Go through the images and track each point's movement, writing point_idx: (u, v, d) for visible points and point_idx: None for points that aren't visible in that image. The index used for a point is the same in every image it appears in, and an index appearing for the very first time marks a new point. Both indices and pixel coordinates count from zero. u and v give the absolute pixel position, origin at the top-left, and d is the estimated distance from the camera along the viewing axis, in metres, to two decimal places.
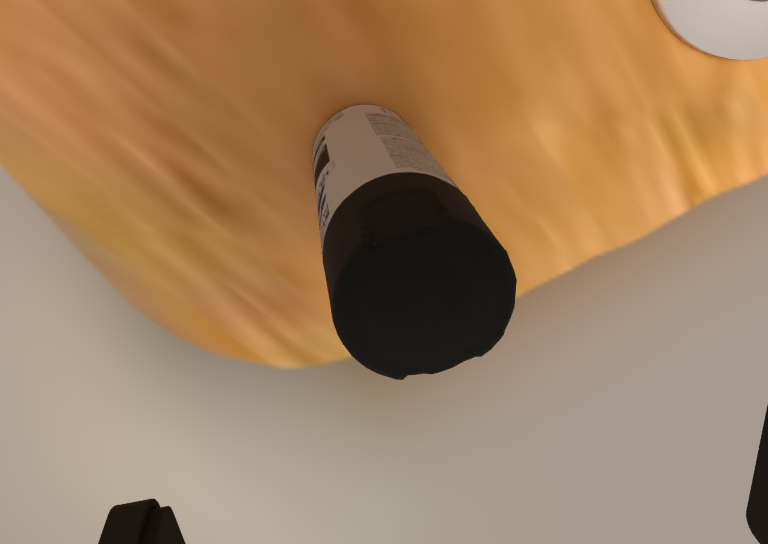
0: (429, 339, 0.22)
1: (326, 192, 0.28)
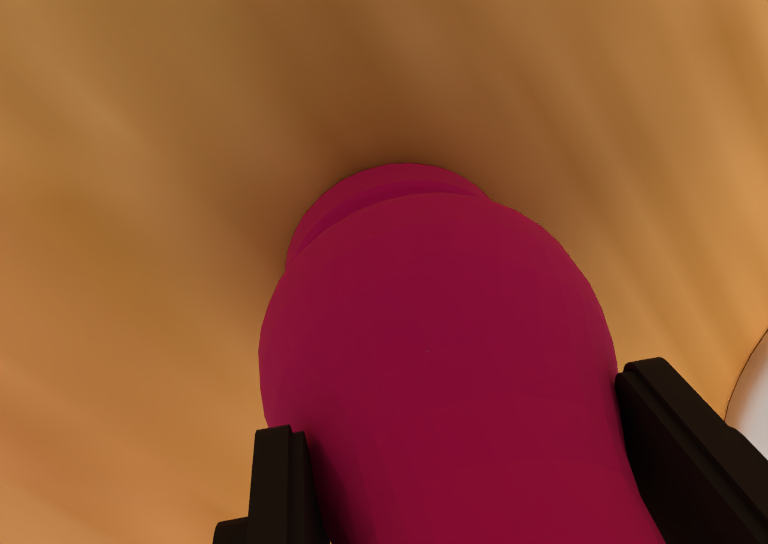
0: None
1: None
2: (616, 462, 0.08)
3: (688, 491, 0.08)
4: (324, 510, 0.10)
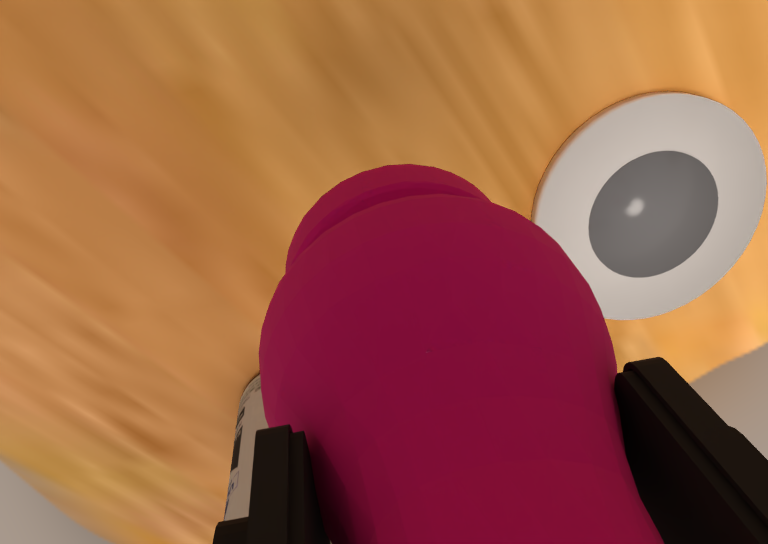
0: None
1: (226, 520, 0.32)
2: (617, 464, 0.08)
3: (687, 491, 0.08)
4: (325, 511, 0.10)
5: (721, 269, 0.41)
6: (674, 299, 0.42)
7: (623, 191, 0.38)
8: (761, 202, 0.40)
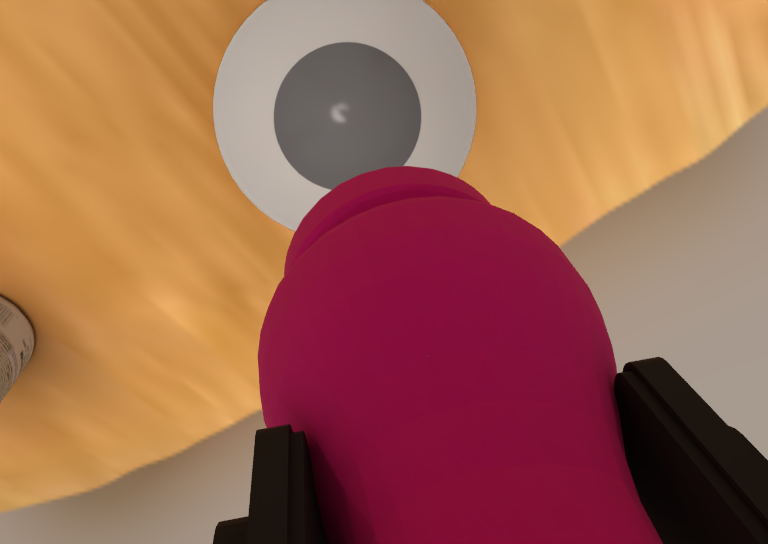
0: None
1: None
2: (618, 468, 0.08)
3: (688, 491, 0.08)
4: (324, 515, 0.10)
5: None
6: None
7: (305, 89, 0.34)
8: (473, 106, 0.36)
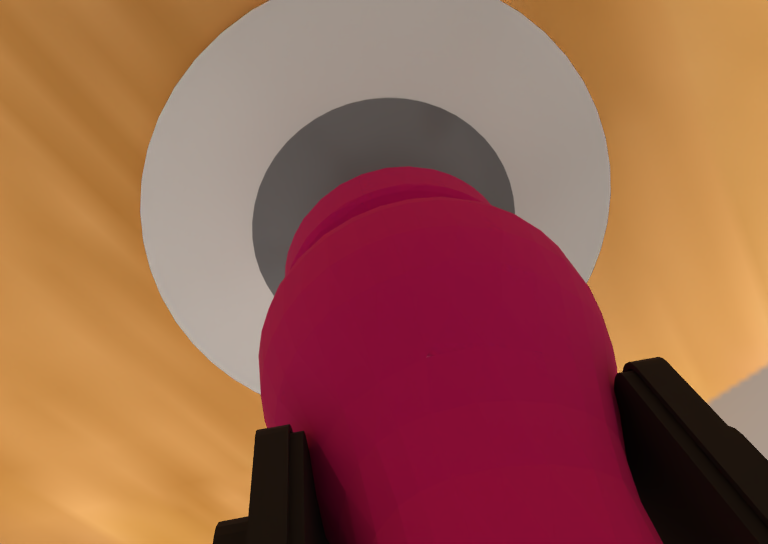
0: None
1: None
2: (617, 469, 0.08)
3: (688, 491, 0.08)
4: (325, 515, 0.10)
5: None
6: None
7: (309, 182, 0.19)
8: (604, 204, 0.20)
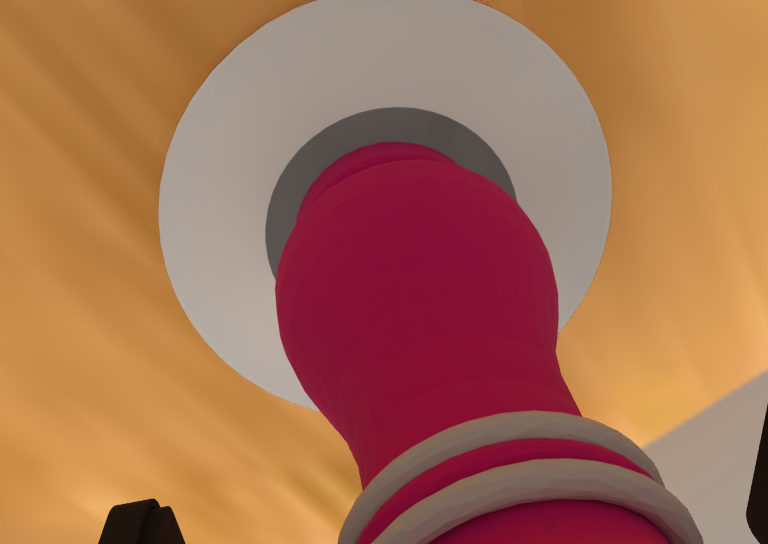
0: None
1: None
2: (540, 343, 0.11)
3: None
4: (328, 392, 0.13)
5: None
6: None
7: None
8: (605, 210, 0.21)
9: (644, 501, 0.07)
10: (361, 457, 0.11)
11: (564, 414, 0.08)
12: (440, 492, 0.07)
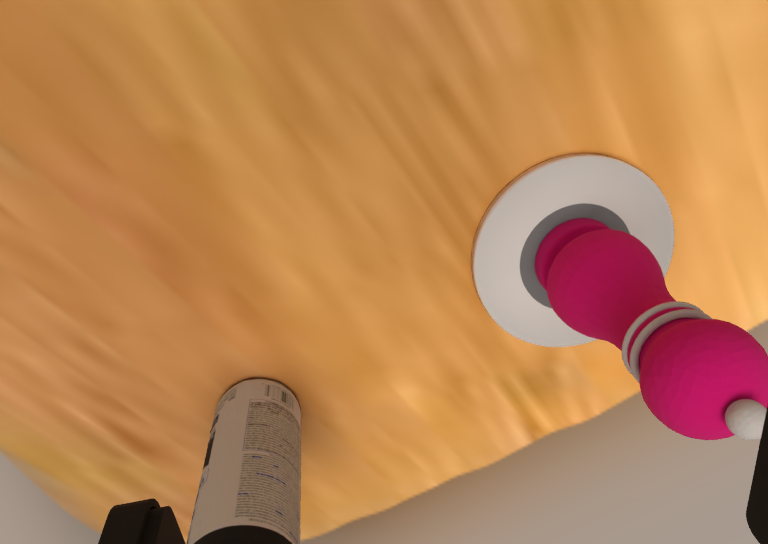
0: None
1: (195, 508, 0.37)
2: (667, 292, 0.36)
3: None
4: (590, 311, 0.37)
5: None
6: None
7: None
8: (670, 249, 0.46)
9: None
10: (616, 323, 0.35)
11: (685, 302, 0.33)
12: (660, 316, 0.32)
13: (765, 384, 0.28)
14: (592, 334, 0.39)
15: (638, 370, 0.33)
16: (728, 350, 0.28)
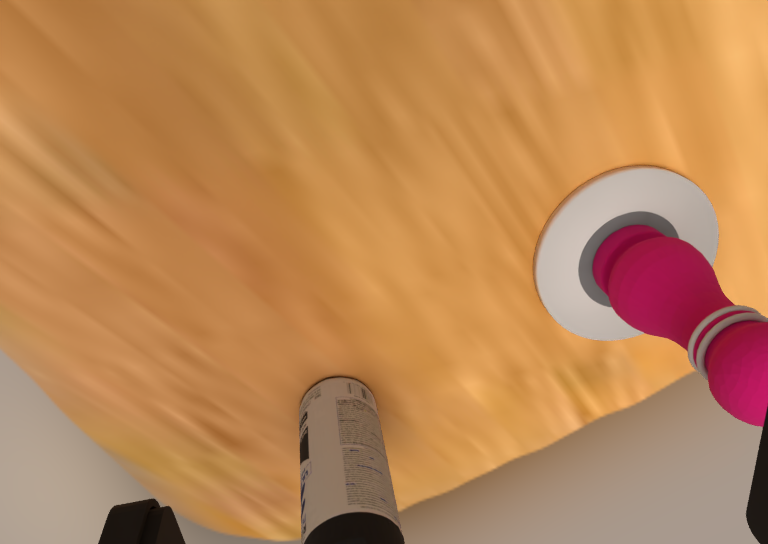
0: None
1: (305, 498, 0.42)
2: None
3: None
4: (653, 312, 0.42)
5: None
6: None
7: None
8: (715, 249, 0.50)
9: (765, 321, 0.36)
10: (680, 325, 0.39)
11: (745, 306, 0.37)
12: (724, 319, 0.36)
13: None
14: (653, 332, 0.43)
15: (704, 367, 0.37)
16: None
